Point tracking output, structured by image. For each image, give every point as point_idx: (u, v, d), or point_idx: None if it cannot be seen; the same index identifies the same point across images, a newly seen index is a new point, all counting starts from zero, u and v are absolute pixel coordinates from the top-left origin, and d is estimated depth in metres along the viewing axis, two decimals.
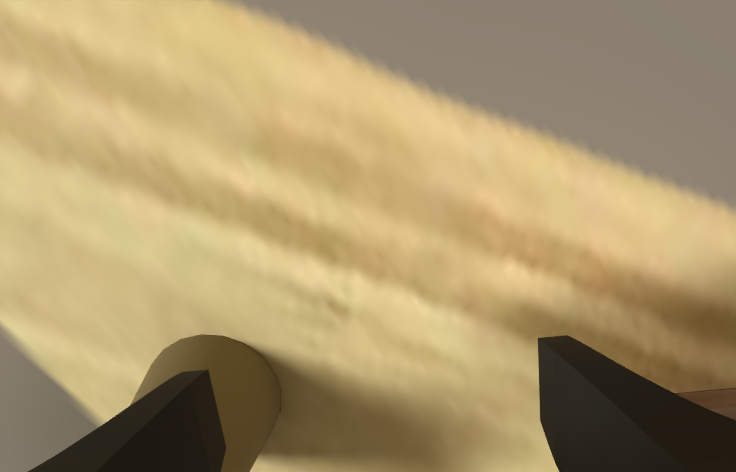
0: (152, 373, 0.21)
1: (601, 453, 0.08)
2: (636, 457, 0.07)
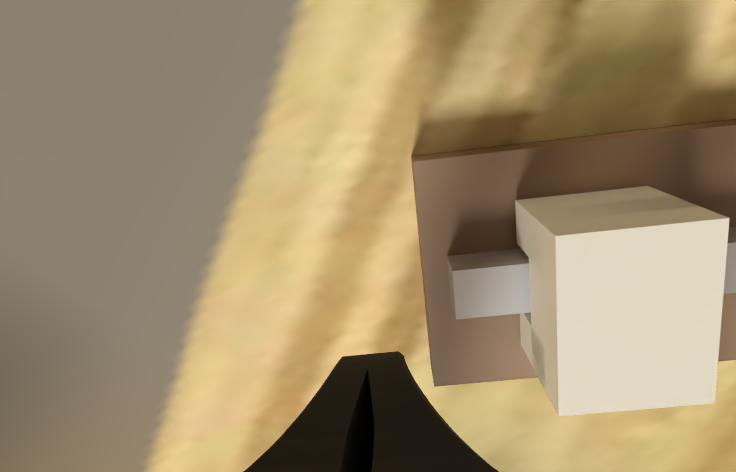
0: None
1: None
2: None
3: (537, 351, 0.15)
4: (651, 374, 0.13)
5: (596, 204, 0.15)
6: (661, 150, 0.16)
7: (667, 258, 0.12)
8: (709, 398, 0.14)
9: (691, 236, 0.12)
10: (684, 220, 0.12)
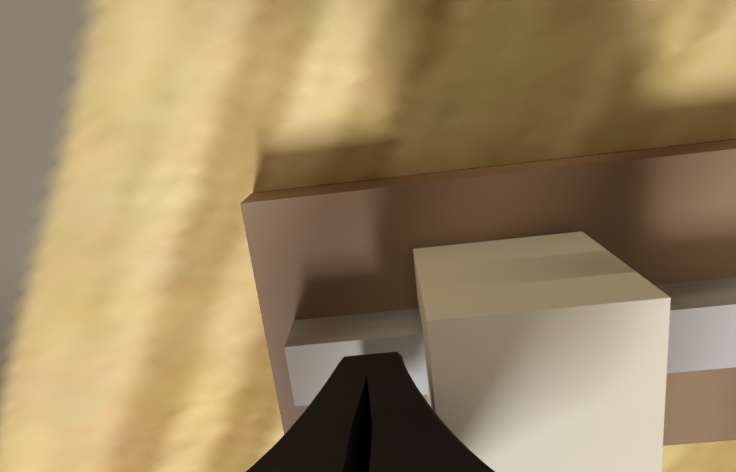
0: None
1: None
2: None
3: None
4: None
5: (506, 261, 0.11)
6: (556, 190, 0.12)
7: (585, 351, 0.09)
8: None
9: (618, 322, 0.09)
10: (608, 299, 0.09)
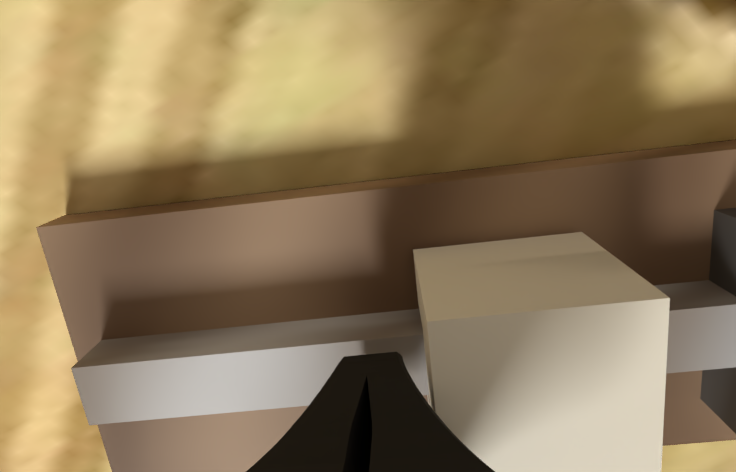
0: None
1: None
2: None
3: None
4: None
5: (506, 262, 0.11)
6: (339, 214, 0.13)
7: (585, 351, 0.09)
8: None
9: (617, 322, 0.09)
10: (608, 299, 0.09)
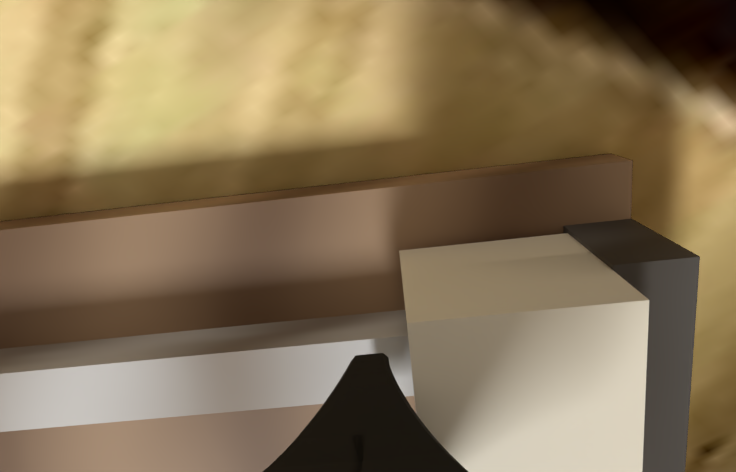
0: None
1: None
2: None
3: None
4: None
5: (490, 263, 0.11)
6: (197, 229, 0.13)
7: (564, 353, 0.09)
8: None
9: (597, 324, 0.09)
10: (587, 301, 0.09)
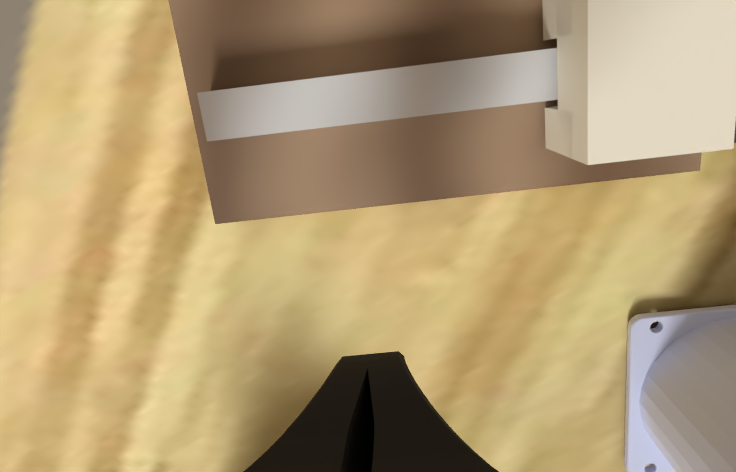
0: None
1: None
2: None
3: (564, 128, 0.16)
4: (674, 118, 0.14)
5: None
6: None
7: None
8: (728, 144, 0.14)
9: None
10: None
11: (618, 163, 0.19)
